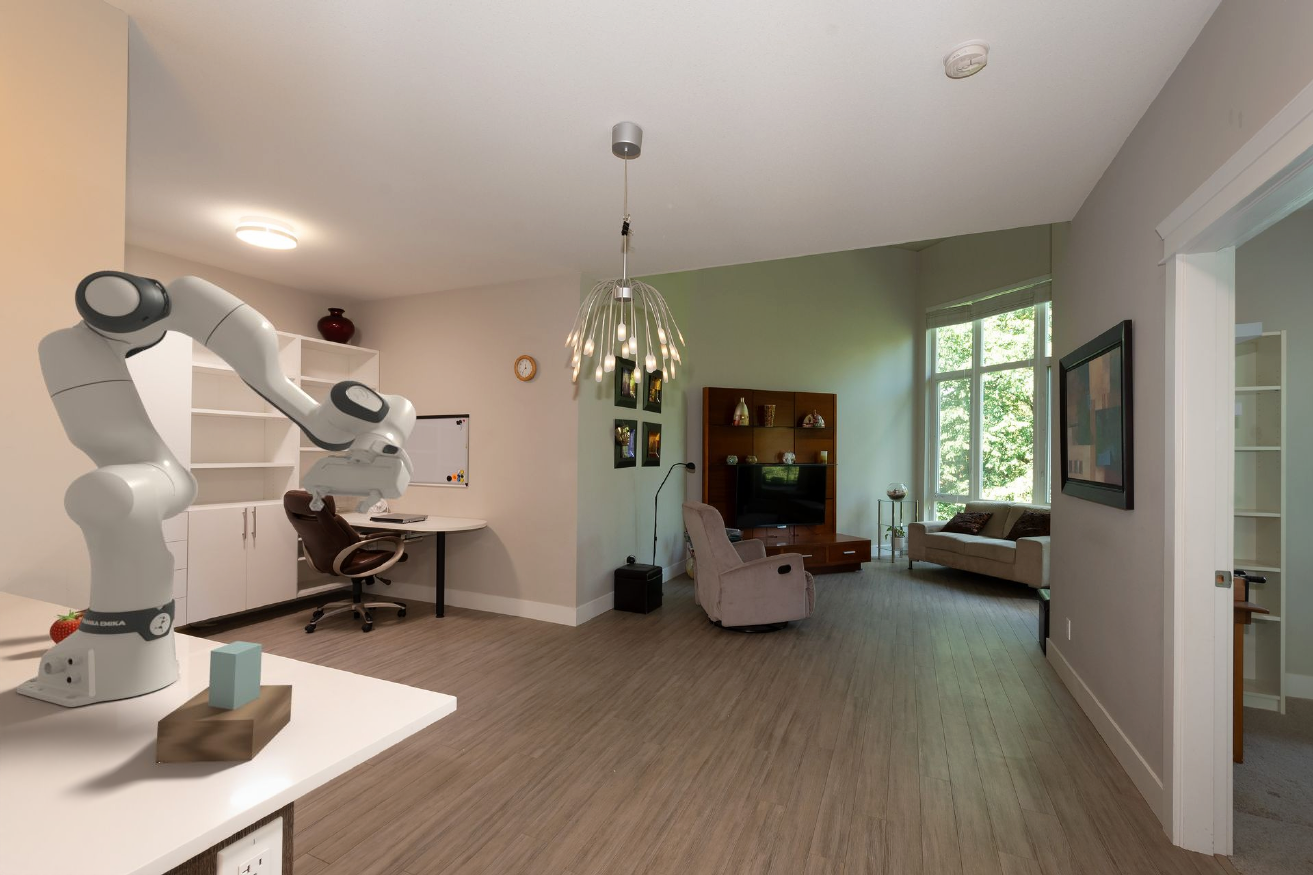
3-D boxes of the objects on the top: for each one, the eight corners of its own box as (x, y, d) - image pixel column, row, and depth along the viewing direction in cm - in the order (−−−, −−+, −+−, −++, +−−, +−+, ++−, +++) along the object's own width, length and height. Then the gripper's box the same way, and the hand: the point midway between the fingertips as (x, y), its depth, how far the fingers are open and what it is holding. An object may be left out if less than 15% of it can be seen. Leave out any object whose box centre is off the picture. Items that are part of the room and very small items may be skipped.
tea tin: (208, 705, 87) (210, 650, 87) (235, 693, 91) (237, 640, 91) (233, 709, 86) (235, 654, 86) (259, 697, 90) (262, 644, 90)
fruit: (67, 654, 118) (69, 613, 118) (41, 653, 118) (43, 612, 118) (93, 645, 123) (95, 606, 123) (68, 644, 123) (70, 605, 124)
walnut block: (155, 765, 82) (157, 721, 82) (207, 724, 94) (209, 686, 94) (251, 762, 84) (253, 719, 84) (290, 722, 95) (292, 684, 95)
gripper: (316, 444, 123) (278, 496, 113) (411, 449, 120) (380, 502, 110) (330, 465, 127) (294, 517, 117) (421, 470, 124) (392, 523, 115)
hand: (337, 510), depth 114 cm, fingers open, 8 cm apart
